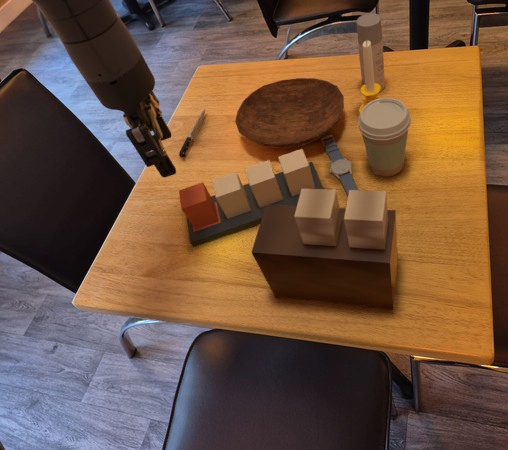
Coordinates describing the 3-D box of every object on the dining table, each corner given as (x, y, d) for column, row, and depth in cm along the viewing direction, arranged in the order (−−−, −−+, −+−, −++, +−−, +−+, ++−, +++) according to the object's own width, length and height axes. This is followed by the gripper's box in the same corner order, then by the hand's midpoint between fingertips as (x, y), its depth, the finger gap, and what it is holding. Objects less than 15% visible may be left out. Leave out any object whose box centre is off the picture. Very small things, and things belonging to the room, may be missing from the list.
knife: (206, 113, 99) (203, 106, 98) (209, 113, 99) (206, 106, 97) (182, 160, 91) (178, 154, 90) (185, 160, 91) (181, 154, 89)
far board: (327, 200, 77) (320, 172, 71) (193, 247, 77) (175, 222, 71) (313, 167, 83) (305, 137, 77) (187, 210, 83) (170, 184, 77)
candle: (379, 121, 86) (374, 51, 74) (355, 116, 89) (346, 47, 76) (389, 104, 89) (386, 33, 76) (365, 100, 91) (359, 30, 79)
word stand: (397, 261, 67) (394, 179, 52) (393, 309, 63) (388, 234, 48) (286, 253, 72) (254, 176, 57) (275, 297, 68) (237, 225, 53)
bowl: (255, 98, 99) (249, 80, 95) (352, 94, 93) (350, 74, 89) (231, 162, 88) (223, 144, 84) (340, 162, 82) (336, 143, 78)
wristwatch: (335, 133, 87) (334, 129, 86) (371, 206, 74) (371, 202, 74) (315, 140, 87) (314, 136, 86) (348, 214, 74) (347, 210, 74)
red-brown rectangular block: (215, 203, 80) (203, 181, 75) (218, 221, 77) (206, 200, 73) (192, 211, 80) (178, 190, 75) (195, 229, 77) (181, 208, 72)
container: (383, 94, 91) (379, 26, 79) (360, 94, 92) (353, 27, 81) (386, 79, 94) (383, 12, 82) (364, 80, 95) (358, 13, 83)
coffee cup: (417, 174, 77) (419, 121, 67) (370, 187, 77) (364, 137, 68) (402, 142, 82) (401, 89, 72) (357, 155, 82) (350, 103, 73)
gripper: (83, 42, 58) (142, 134, 71) (77, 104, 49) (146, 196, 62) (137, 24, 58) (186, 119, 71) (141, 82, 49) (196, 179, 62)
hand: (167, 155), depth 66 cm, fingers open, 8 cm apart
